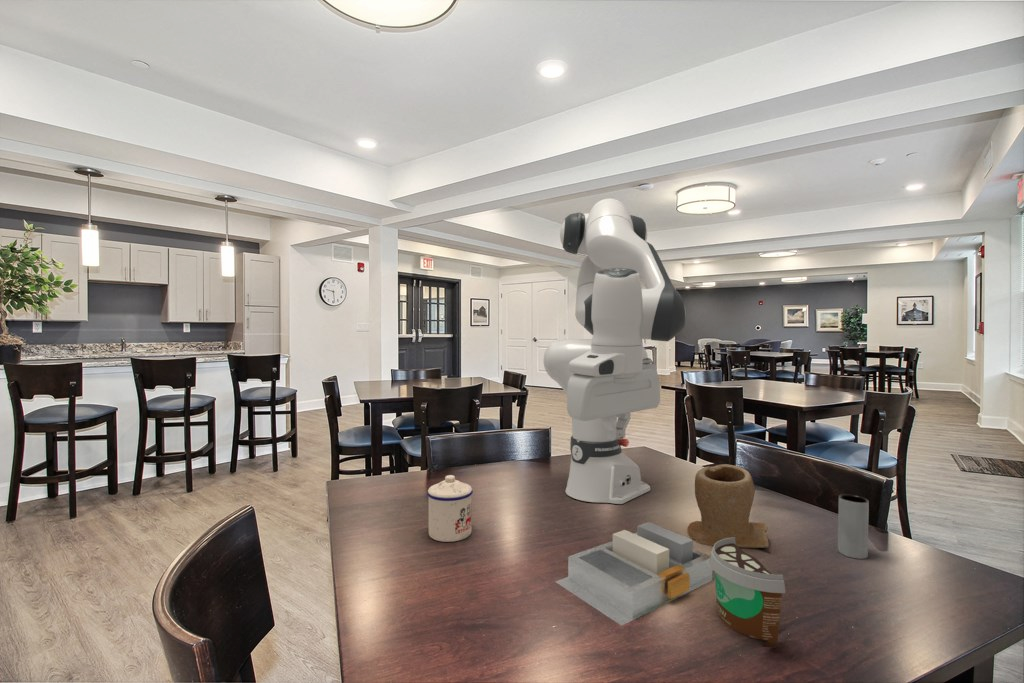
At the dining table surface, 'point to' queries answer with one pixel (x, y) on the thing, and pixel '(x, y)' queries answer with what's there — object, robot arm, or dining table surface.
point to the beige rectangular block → (641, 551)
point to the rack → (630, 582)
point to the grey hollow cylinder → (853, 526)
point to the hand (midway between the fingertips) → (616, 438)
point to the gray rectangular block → (668, 541)
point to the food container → (746, 592)
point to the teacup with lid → (450, 510)
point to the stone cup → (726, 508)
